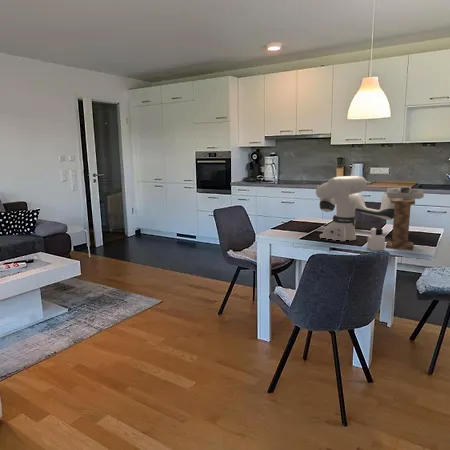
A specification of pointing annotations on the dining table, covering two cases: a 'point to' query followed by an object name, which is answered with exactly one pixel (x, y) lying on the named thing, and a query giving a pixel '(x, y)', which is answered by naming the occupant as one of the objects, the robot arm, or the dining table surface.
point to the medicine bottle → (376, 240)
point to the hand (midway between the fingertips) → (405, 187)
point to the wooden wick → (405, 189)
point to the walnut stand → (401, 224)
